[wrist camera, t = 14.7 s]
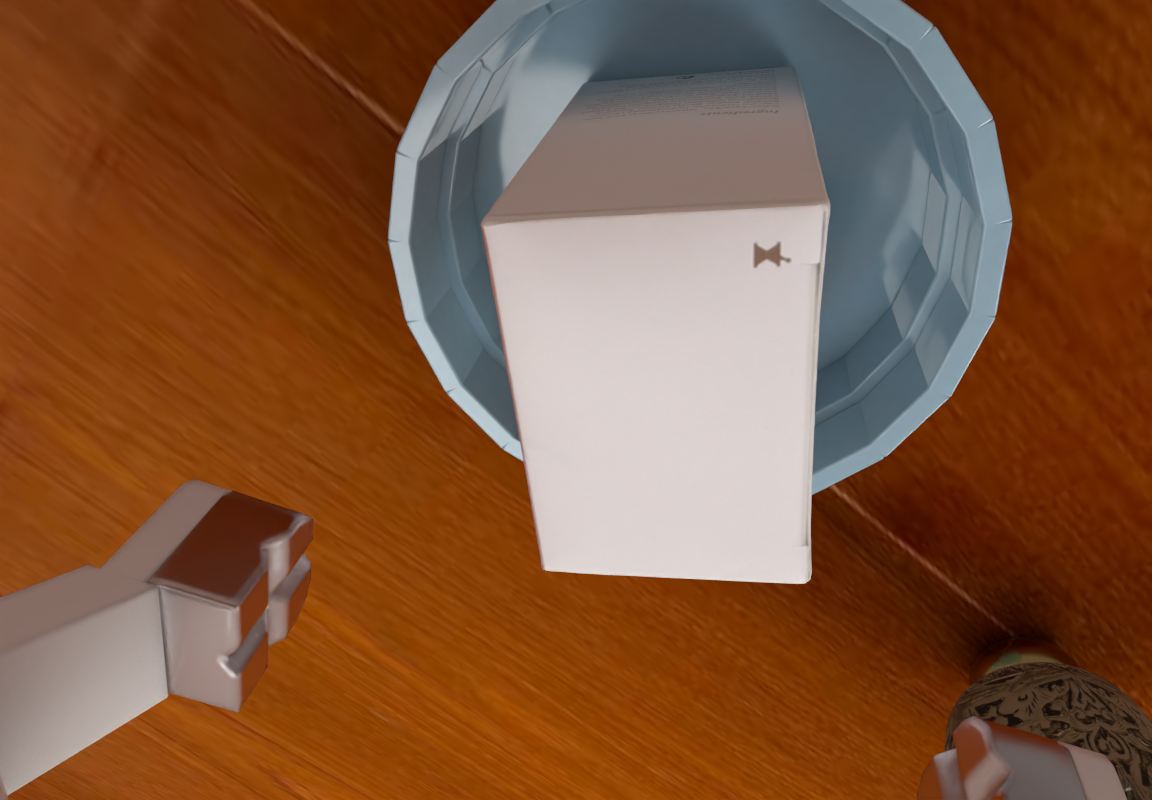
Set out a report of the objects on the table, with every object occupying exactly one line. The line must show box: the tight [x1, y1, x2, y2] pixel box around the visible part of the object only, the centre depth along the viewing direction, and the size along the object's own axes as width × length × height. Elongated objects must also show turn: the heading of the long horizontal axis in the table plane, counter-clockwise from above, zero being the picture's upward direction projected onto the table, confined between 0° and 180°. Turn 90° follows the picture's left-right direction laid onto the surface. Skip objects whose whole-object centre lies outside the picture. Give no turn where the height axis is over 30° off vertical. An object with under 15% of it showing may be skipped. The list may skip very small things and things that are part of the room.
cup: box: [945, 637, 1152, 800], centre depth 27 cm, size 8×7×8 cm
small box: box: [481, 66, 830, 584], centre depth 19 cm, size 8×6×10 cm
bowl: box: [388, 0, 1013, 495], centre depth 22 cm, size 14×14×5 cm
